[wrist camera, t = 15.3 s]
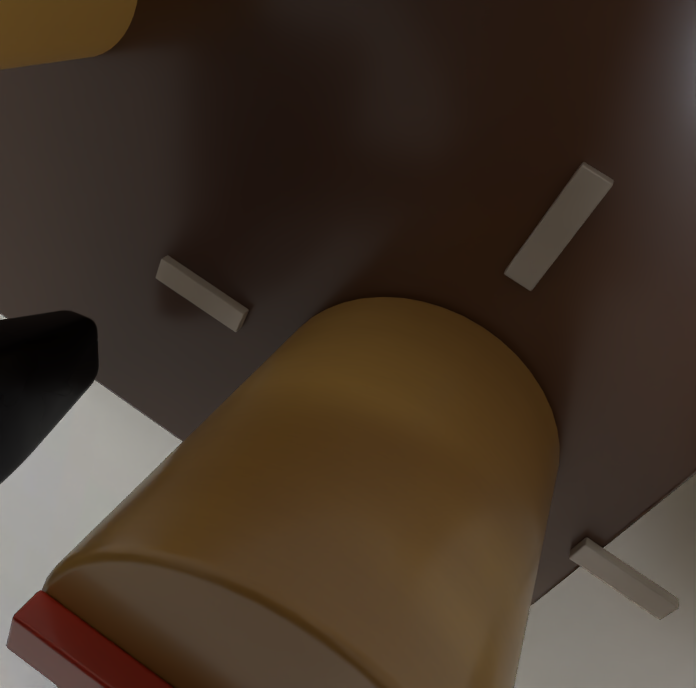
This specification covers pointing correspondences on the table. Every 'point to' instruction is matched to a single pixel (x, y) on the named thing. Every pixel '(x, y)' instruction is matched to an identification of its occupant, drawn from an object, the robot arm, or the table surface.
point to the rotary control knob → (323, 524)
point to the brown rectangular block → (383, 212)
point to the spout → (60, 29)
